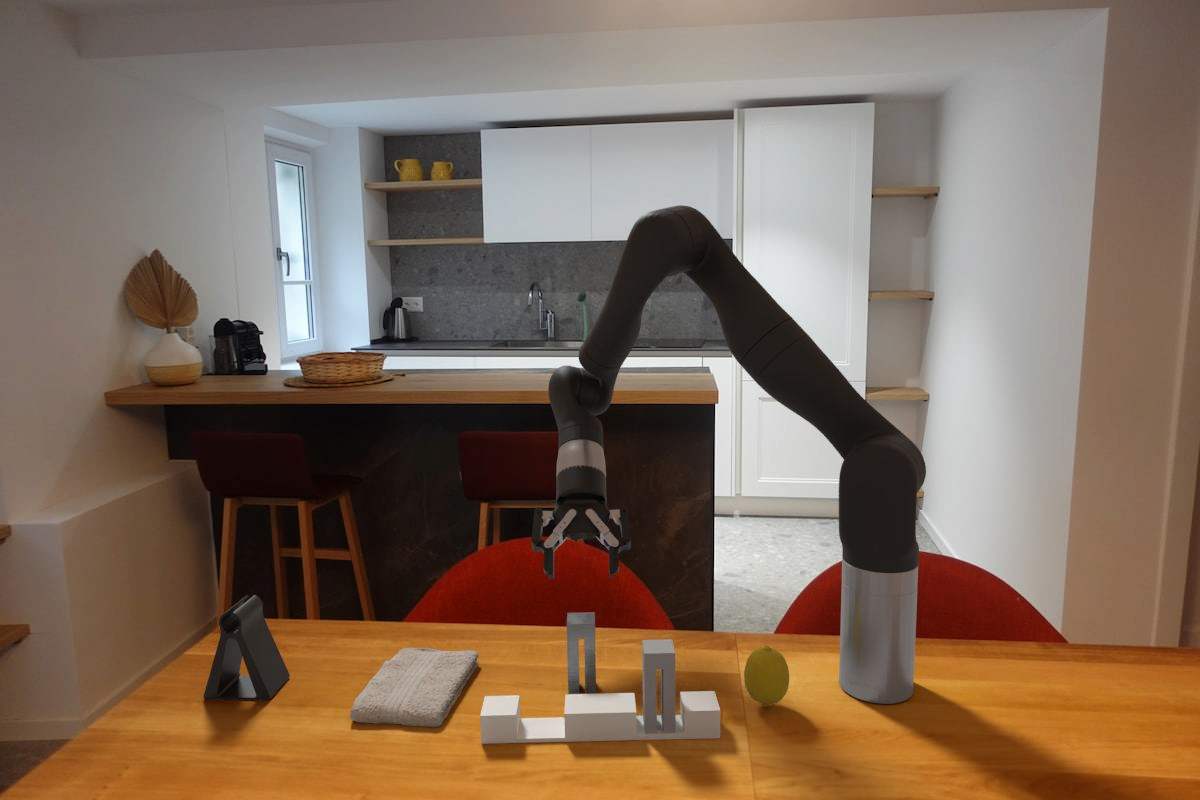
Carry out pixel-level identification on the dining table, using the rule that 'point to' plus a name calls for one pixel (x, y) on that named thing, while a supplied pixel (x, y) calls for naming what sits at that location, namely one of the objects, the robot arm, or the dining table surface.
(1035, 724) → the dining table surface
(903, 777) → the dining table surface
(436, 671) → the washcloth
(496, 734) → the rail
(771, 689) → the lemon
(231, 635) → the phone stand
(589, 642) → the grey slotted block
